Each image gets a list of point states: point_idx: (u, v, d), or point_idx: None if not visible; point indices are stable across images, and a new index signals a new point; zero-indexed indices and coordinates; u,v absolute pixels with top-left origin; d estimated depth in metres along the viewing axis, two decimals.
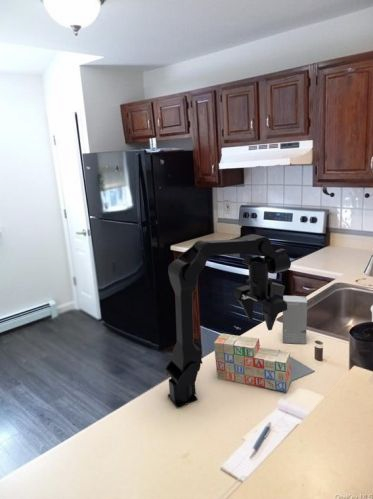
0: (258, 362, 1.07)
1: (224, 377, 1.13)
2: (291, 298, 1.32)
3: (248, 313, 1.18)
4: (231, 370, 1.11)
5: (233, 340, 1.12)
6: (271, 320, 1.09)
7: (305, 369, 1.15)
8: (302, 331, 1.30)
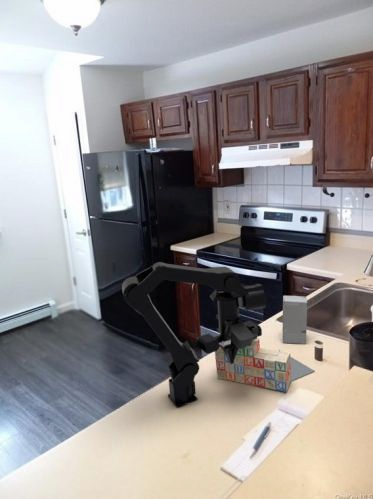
0: (258, 362, 1.07)
1: (224, 377, 1.13)
2: (291, 298, 1.32)
3: None
4: (231, 370, 1.11)
5: None
6: (226, 352, 1.06)
7: (305, 369, 1.15)
8: (302, 331, 1.30)
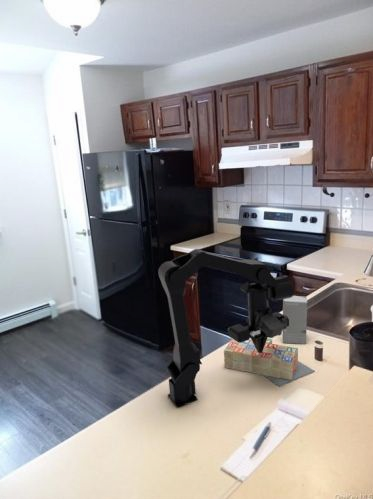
0: (272, 345, 1.19)
1: (231, 350, 1.18)
2: (291, 298, 1.32)
3: None
4: (242, 347, 1.19)
5: None
6: (255, 342, 1.11)
7: (305, 369, 1.15)
8: (302, 331, 1.30)
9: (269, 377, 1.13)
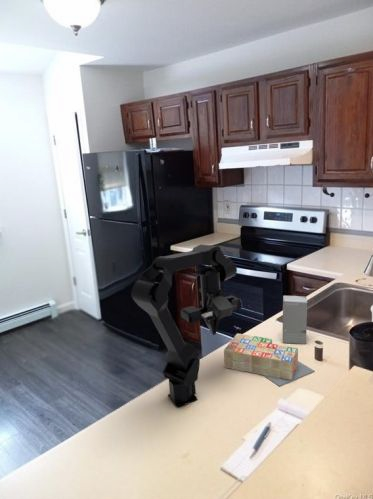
0: (272, 345, 1.19)
1: (231, 350, 1.18)
2: (291, 298, 1.32)
3: None
4: (242, 347, 1.19)
5: None
6: (208, 324, 1.14)
7: (305, 369, 1.15)
8: (302, 331, 1.30)
9: (269, 377, 1.13)
